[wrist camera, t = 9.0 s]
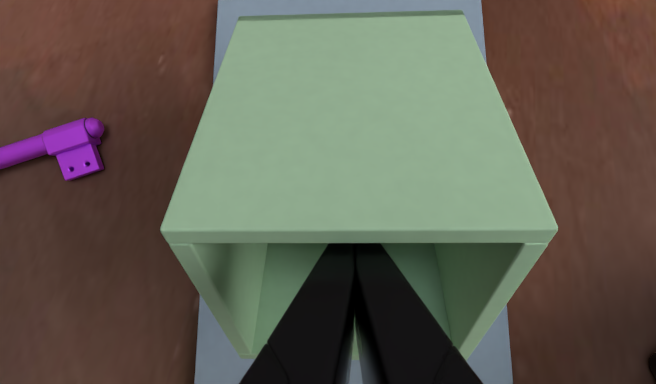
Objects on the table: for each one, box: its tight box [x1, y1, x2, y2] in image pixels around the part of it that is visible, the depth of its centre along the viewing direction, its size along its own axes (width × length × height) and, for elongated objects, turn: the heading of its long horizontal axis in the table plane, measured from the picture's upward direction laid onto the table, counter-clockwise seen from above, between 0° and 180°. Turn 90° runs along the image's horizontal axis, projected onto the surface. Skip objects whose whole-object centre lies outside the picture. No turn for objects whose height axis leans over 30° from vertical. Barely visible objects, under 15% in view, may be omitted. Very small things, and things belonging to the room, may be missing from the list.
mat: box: [194, 0, 513, 384], centre depth 19 cm, size 20×14×1 cm
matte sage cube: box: [160, 10, 558, 360], centre depth 13 cm, size 9×8×8 cm
